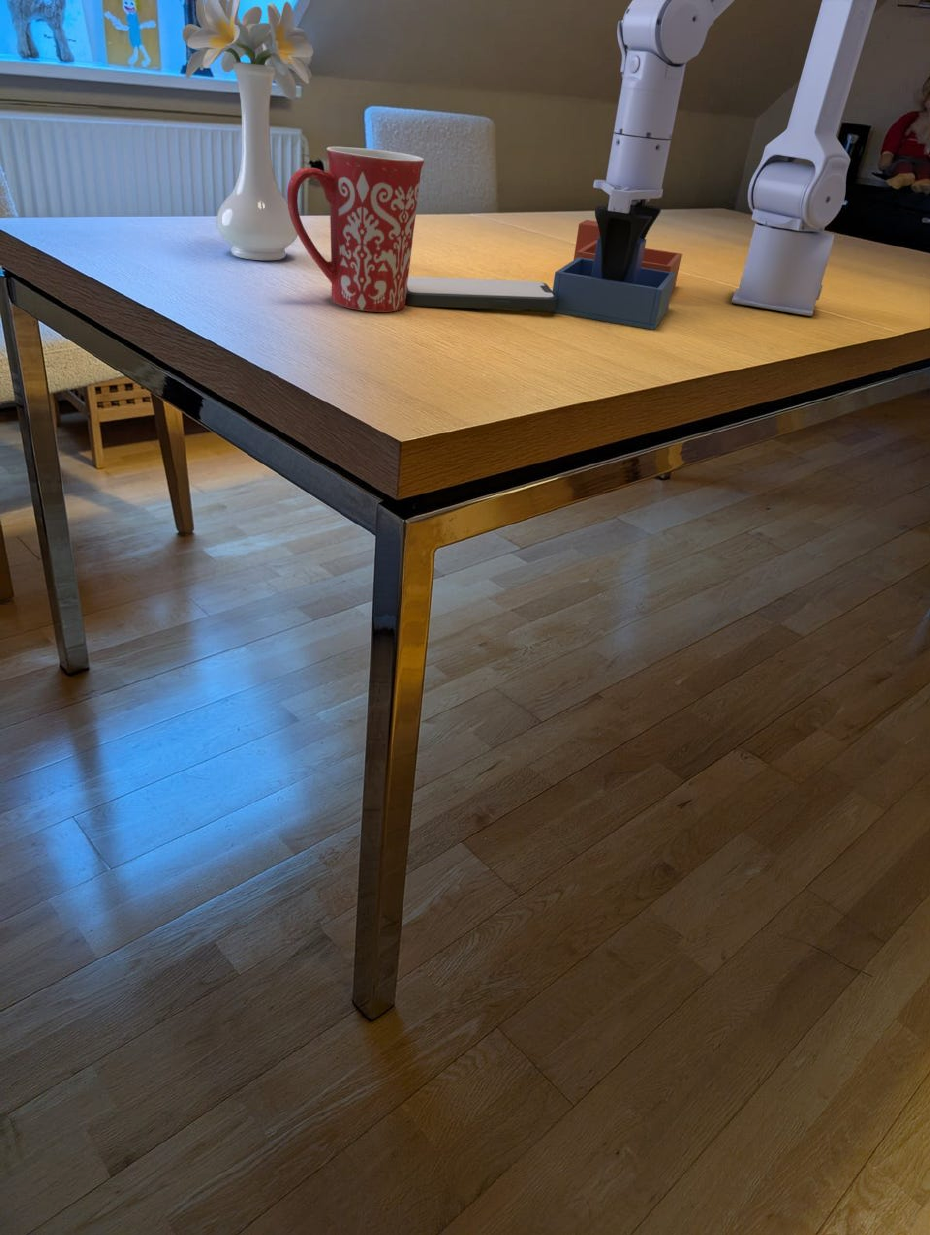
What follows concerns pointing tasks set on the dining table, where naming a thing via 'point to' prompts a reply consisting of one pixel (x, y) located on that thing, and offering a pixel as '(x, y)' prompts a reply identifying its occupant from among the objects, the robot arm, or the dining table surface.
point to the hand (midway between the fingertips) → (616, 279)
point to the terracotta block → (586, 234)
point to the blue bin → (613, 295)
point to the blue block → (634, 265)
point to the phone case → (480, 294)
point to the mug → (365, 224)
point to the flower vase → (253, 114)
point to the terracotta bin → (644, 259)
